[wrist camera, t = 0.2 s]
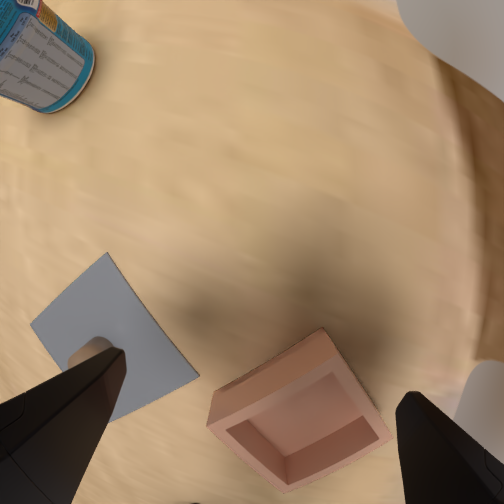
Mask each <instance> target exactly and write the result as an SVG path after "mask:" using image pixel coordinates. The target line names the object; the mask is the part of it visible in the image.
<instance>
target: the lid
mask: <svg viewBox="0 0 504 504" xmlns="http://www.w3.org/2000/svg"><path fill="white" fill-rule="evenodd" d="M30 326H31V327H32V329H33V330H34V332H35V333H36V335H37V336H38V338H39V339H40V341H41V342H42V344H43V345H44V347H45V348H46V350H47V351H48V353H49V354H50V355H51V357H52V358H53V360H54V361H55V362H56V364H57V365H58V366H59V368H60V369H61V370H62V372H64V371H66V370H68V369H70V368H72V367H74V366H75V365H77V364H79V363H81V362H83V361H85V360H87V359H89V358H90V357H92V356H94V355H96V354H98V353H100V352H102V351H104V350H105V349H107V348H109V347H112V346H114V347H117V348H120V349H123V350H124V351H125V356H126V365H127V373H126V377H125V379H124V382H123V385H122V388H121V391H120V393H119V396H118V399H117V402H116V405H115V408H114V410H113V413H112V416H111V418H110V420H109V422H108V423H110V422H112V421H114V420H116V419H118V418H120V417H122V416H125V415H127V414H129V413H131V412H133V411H135V410H137V409H139V408H141V407H143V406H145V405H147V404H149V403H151V402H153V401H155V400H157V399H159V398H161V397H163V396H164V395H166V394H168V393H170V392H172V391H174V390H176V389H178V388H180V387H181V386H183V385H185V384H187V383H189V382H191V381H192V380H194V379H196V378H198V377H199V376H200V375H199V374H198V373H197V371H196V370H195V369H194V368H193V367H192V366H191V364H190V363H189V362H188V361H187V360H186V358H185V357H184V356H183V355H182V354H181V352H180V351H179V350H178V349H177V347H176V346H175V345H174V344H173V343H172V341H171V340H170V339H169V337H168V336H167V335H166V334H165V332H164V331H163V330H162V329H161V327H160V326H159V325H158V323H157V322H156V321H155V319H154V318H153V317H152V315H151V314H150V313H149V311H148V310H147V309H146V307H145V306H144V305H143V303H142V302H141V300H140V299H139V298H138V296H137V295H136V293H135V292H134V291H133V289H132V288H131V286H130V285H129V283H128V282H127V281H126V279H125V278H124V276H123V275H122V273H121V272H120V270H119V269H118V267H117V266H116V264H115V263H114V261H113V260H112V258H111V257H110V255H109V254H108V252H106V253H105V254H104V255H103V256H102V257H100V258H99V259H98V260H97V261H96V262H95V263H94V264H92V265H91V266H90V267H89V268H88V269H87V270H86V271H85V272H84V273H82V274H81V275H80V276H79V277H78V278H77V279H76V280H75V281H74V282H73V283H72V284H71V285H69V286H68V287H67V288H66V289H65V290H64V291H63V292H62V293H61V294H60V295H59V296H58V297H57V298H56V299H55V300H54V301H53V302H52V303H51V304H50V305H49V306H48V307H47V308H46V309H45V310H44V311H43V312H42V313H41V314H40V315H39V316H38V317H37V318H36V319H35V320H34V321H33V322H32V323H31V324H30Z"/></svg>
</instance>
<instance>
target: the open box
mask: <svg viewBox="0 0 504 504" xmlns="http://www.w3.org/2000/svg"><path fill="white" fill-rule="evenodd" d="M206 427H207V428H208V429H209V430H210V431H211V432H213V433H214V434H215V435H216V436H217V437H218V438H219V439H220V440H221V441H222V442H223V443H224V444H225V445H226V446H227V447H228V448H230V449H231V450H232V451H233V452H234V453H235V454H236V455H237V456H238V457H240V458H241V459H242V460H243V461H244V462H245V463H246V464H248V465H249V466H250V467H251V468H252V469H254V470H255V471H256V472H257V473H258V474H260V475H261V476H262V477H263V478H264V479H266V480H267V481H268V482H269V483H271V484H272V485H273V486H275V487H276V488H277V489H278V490H280V491H281V492H282V493H287V492H289V491H292V490H294V489H297V488H299V487H302V486H304V485H306V484H309V483H311V482H313V481H315V480H318V479H320V478H322V477H324V476H326V475H328V474H330V473H332V472H335V471H337V470H339V469H341V468H342V467H344V466H346V465H348V464H350V463H352V462H354V461H356V460H358V459H359V458H361V457H363V456H365V455H366V454H368V453H370V452H372V451H373V450H375V449H377V448H378V447H380V446H382V445H383V444H385V443H387V442H388V441H390V440H391V439H393V436H392V434H391V433H390V431H389V429H388V427H387V426H386V424H385V422H384V420H383V419H382V417H381V415H380V414H379V412H378V410H377V408H376V407H375V405H374V404H373V402H372V401H371V399H370V398H369V396H368V395H367V393H366V391H365V390H364V388H363V387H362V385H361V384H360V382H359V381H358V379H357V378H356V376H355V375H354V373H353V372H352V370H351V369H350V367H349V366H348V364H347V363H346V361H345V360H344V358H343V357H342V355H341V354H340V352H339V351H338V349H337V348H336V346H335V345H334V343H333V342H332V340H331V339H330V337H329V336H328V334H327V333H326V331H325V330H324V328H323V327H322V328H320V329H319V330H317V331H316V332H314V333H313V334H311V335H309V336H308V337H306V338H305V339H303V340H302V341H300V342H299V343H297V344H295V345H294V346H292V347H291V348H289V349H287V350H286V351H284V352H283V353H281V354H279V355H278V356H276V357H274V358H273V359H271V360H269V361H268V362H266V363H264V364H263V365H261V366H259V367H257V368H256V369H254V370H252V371H251V372H249V373H247V374H245V375H244V376H242V377H240V378H238V379H236V380H235V381H233V382H231V383H229V384H227V385H226V386H224V387H222V388H220V389H218V390H216V391H214V393H213V398H212V402H211V407H210V411H209V416H208V421H207V425H206Z"/></svg>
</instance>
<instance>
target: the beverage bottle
mask: <svg viewBox="0 0 504 504" xmlns="http://www.w3.org/2000/svg"><path fill="white" fill-rule="evenodd" d="M94 60H95V57H94V51H93V48H92V46H91V45H90V44H89V42H87V41H86V40H85V39H84V38H83V37H81V36H80V35H79V34H77V33H76V32H75V31H74V30H73V29H72V28H71V27H69V26H68V25H67V24H66V23H65V22H64V21H63V20H62V19H61V18H60V17H59V16H58V15H57V14H55V13H54V12H53V11H52V10H51V9H50V8H49V7H48V6H47V5H46V4H45V3H44V2H43V1H42V0H0V96H1V97H4V98H7V99H9V100H12V101H14V102H17V103H20V104H22V105H25V106H27V107H29V108H31V109H33V110H35V111H37V112H40V113H52V112H55V111H58V110H60V109H62V108H64V107H65V106H67V105H68V104H69V103H71V102H72V101H73V100H74V99H75V98H76V97H77V96H78V95H79V94H80V93H81V91H82V90H83V89H84V87H85V86H86V84H87V82H88V80H89V78H90V76H91V74H92V71H93V67H94Z"/></svg>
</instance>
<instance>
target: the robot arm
mask: <svg viewBox="0 0 504 504" xmlns="http://www.w3.org/2000/svg"><path fill="white" fill-rule="evenodd" d="M126 373H127V365H126V356H125V351H124V350H123V349H120V348H117V347H114V346H112V347H109V348H107V349H105V350H104V351H102V352H100V353H98V354H96V355H94V356H92V357H90V358H89V359H87V360H85V361H83V362H81V363H79V364H77V365H75V366H74V367H72V368H70V369H68V370H66V371H64V372H62V373H60V374H58V375H56V376H55V377H53V378H51V379H49V380H47V381H45V382H43V383H41V384H39V385H37V386H35V387H34V388H32V389H30V390H28V391H26V393H25V392H24V393H22V394H20V395H18V396H16V397H14V398H12V399H10V400H8V401H6V402H3V403H1V404H0V504H71V503H72V500H73V498H74V496H75V493H76V491H77V489H78V487H79V484H80V482H81V480H82V478H83V475H84V473H85V471H86V469H87V467H88V464H89V462H90V460H91V458H92V456H93V454H94V451H95V449H96V447H97V445H98V443H99V441H100V439H101V437H102V435H103V432H104V430H105V428H106V426H107V424H108V422H109V420H110V418H111V416H112V413H113V410H114V408H115V405H116V402H117V399H118V396H119V393H120V391H121V388H122V385H123V382H124V379H125V377H126ZM395 415H396V427H397V441H398V453H399V459H400V466H401V472H402V479H403V487H404V494H405V503H406V504H504V464H503V463H501V462H500V461H499V460H497V459H496V458H495V457H494V456H493V455H491V454H490V453H489V452H488V451H487V450H486V449H484V448H483V447H482V446H481V445H480V444H479V443H478V442H477V441H475V440H474V439H473V438H472V437H471V436H470V435H468V434H467V433H466V432H465V431H464V430H463V429H462V428H460V427H459V426H458V425H457V424H456V423H455V422H454V421H452V420H451V419H450V418H449V417H448V416H447V415H446V414H444V413H443V412H442V411H441V410H440V409H439V408H438V407H436V406H435V405H434V404H433V403H432V402H431V401H429V400H428V399H427V398H426V397H425V396H424V395H423V394H421V393H420V392H418V391H409V392H407V393H406V394H405V396H404V397H403V399H402V400H401V402H400V403H399V405H398V406H397V408H396V413H395Z"/></svg>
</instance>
